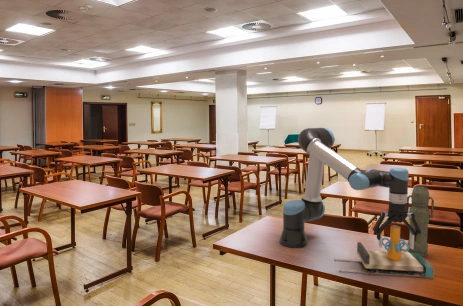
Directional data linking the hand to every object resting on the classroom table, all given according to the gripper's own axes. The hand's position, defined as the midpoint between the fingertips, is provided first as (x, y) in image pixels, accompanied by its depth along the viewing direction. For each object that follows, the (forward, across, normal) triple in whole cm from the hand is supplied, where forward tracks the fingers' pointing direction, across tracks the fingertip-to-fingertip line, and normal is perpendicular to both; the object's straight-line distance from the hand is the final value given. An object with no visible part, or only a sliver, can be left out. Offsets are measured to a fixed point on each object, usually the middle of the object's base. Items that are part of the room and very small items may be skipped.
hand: (395, 247), depth 153 cm
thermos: (+10, +17, +19) cm, 28 cm away
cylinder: (+5, 0, 0) cm, 5 cm away
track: (+10, -7, 0) cm, 12 cm away
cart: (+10, -3, 0) cm, 11 cm away
